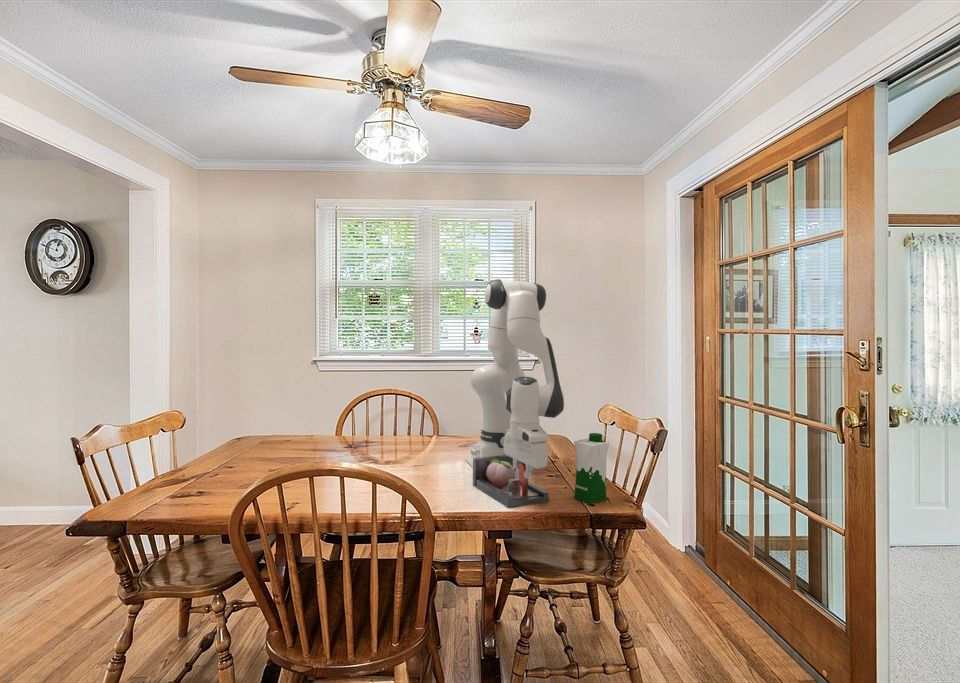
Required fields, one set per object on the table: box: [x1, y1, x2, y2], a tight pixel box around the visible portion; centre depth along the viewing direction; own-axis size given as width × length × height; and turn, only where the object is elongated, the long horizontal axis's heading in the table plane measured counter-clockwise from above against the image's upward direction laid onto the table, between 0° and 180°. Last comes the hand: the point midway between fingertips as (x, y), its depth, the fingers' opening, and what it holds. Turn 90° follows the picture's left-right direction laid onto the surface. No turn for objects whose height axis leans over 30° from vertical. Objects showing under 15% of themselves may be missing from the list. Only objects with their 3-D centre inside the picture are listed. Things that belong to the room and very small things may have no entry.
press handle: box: [506, 462, 540, 500], centre depth 159 cm, size 6×10×12 cm, turn 116°
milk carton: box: [573, 432, 610, 505], centre depth 160 cm, size 9×9×20 cm
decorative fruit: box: [486, 458, 515, 489], centre depth 170 cm, size 9×8×10 cm
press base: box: [472, 455, 550, 509], centre depth 165 cm, size 24×14×9 cm, turn 26°
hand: (523, 476), depth 157 cm, fingers closed on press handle, 3 cm apart
